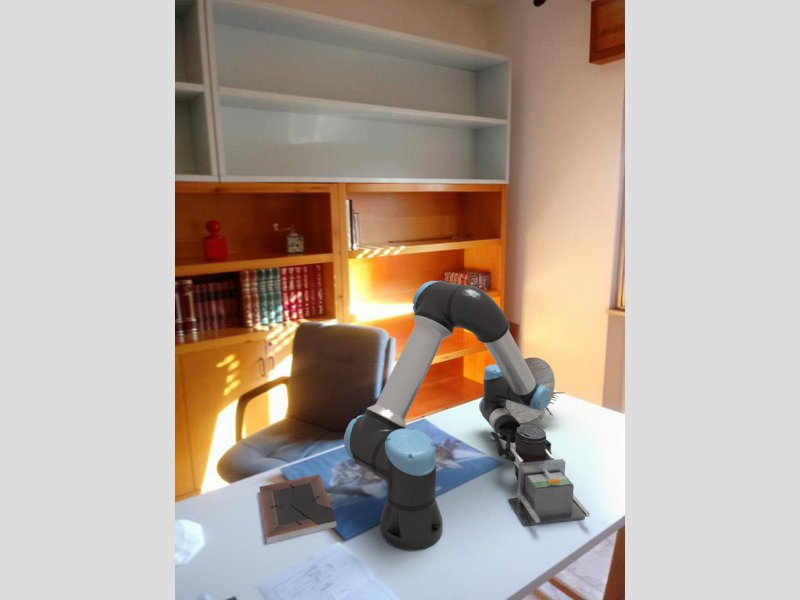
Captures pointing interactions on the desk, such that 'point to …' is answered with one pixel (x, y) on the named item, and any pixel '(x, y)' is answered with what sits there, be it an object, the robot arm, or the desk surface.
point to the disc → (542, 377)
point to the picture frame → (295, 508)
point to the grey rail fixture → (546, 469)
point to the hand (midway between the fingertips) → (537, 464)
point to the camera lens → (530, 444)
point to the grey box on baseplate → (547, 500)
